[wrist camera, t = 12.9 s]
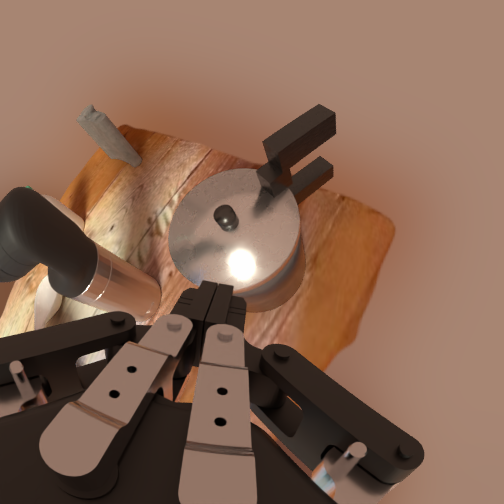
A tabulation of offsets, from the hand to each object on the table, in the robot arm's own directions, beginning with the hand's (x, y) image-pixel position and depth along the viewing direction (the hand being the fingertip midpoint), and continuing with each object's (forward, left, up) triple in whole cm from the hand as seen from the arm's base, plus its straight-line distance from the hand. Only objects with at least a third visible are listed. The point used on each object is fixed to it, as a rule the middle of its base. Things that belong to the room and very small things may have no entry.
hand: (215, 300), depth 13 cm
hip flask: (-64, +6, -30) cm, 71 cm away
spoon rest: (-42, -36, -31) cm, 63 cm away
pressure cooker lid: (-12, +11, -17) cm, 23 cm away
